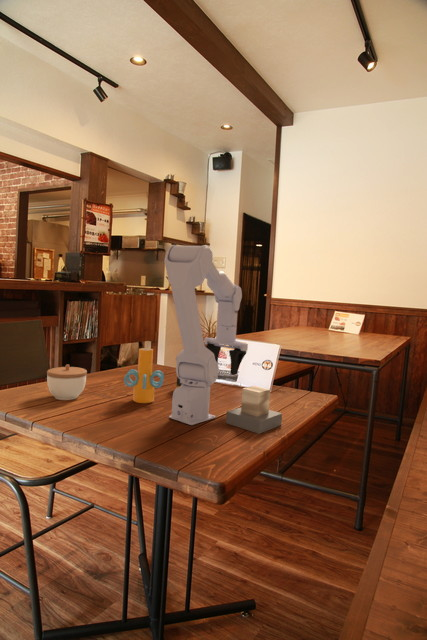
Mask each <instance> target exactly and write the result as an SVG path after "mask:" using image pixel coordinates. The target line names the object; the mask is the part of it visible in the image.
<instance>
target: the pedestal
mask: <svg viewBox="0 0 427 640" xmlns="http://www.w3.org/2000/svg"><path fill="white" fill-rule="evenodd" d="M225 418H226V419H225V424H227V425H231V426H234V427H237V428H240V429H244V430H246V431H249V432H253V433H256V434H259V435H260V434H262V433H264V432H268V431H269V430H273V429H275V428H277V427H280V426H282V420H283V419H282V418H283V413H282V412H279V411H274V410H271V409H269V413H267V414H264V415H261V416H258V417H257V416H253V415H250V414H246V413H243V412H241V407H237V408H233V409H231V410H227V411H226V417H225Z"/></svg>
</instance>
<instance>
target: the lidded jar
mask: <svg viewBox="0 0 427 640" xmlns="http://www.w3.org/2000/svg"><path fill="white" fill-rule="evenodd" d="M87 374H88V371H87V369H86V368H84V367H83V368H82V367H76V366H70V364H66V365H65V366H61V367H60V366H59V367H53V368H49V369H48V370H47V371H46V376H47V378H46V380H47V388H48V390H49V392H50V394H51V395H52V396H53V397H54V399H56V400H58V401H70V400H75V399H77V398H78V397H79V396H80V395H81V394H82V393H83V392H84V389H85V387H86V383H87V376H88V375H87Z"/></svg>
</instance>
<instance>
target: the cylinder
mask: <svg viewBox="0 0 427 640" xmlns="http://www.w3.org/2000/svg"><path fill="white" fill-rule="evenodd" d="M153 358H154V349H153V348H146V347H145V348H144V347H141V348H139V349H138V361H137V365H138V366H137V370H136V369H133V368H131V369H130V370H128V372H126V374H125V375H124V378H123V382H124V384H125V386H126V387H129V388H133V389H132V392H133V394H132V401H133V402H135V403H137V404H151V403H153V402H154V401H155V389H159V388H161V387H162V386H163V384H164V379H165V375H164V372H163V371H162V370H154V371H153V360H154V359H153ZM131 375H133V376H134V377H135V380H132V379H131ZM154 377H158V378H159V381H155V380H154Z"/></svg>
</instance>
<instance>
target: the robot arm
mask: <svg viewBox="0 0 427 640" xmlns="http://www.w3.org/2000/svg"><path fill="white" fill-rule="evenodd" d="M213 261H214V258H213V251H212V249H211V248H210V247H209V245H207V244H205V245H204V244H203V245H177V244H172V245H170V246H169V248H168V249H167V251H166V255H165V258H164V265H165V270H166V276H167V280H168V283H169V284H170V288H171V292H172V293H171V294H172V298H173V302H174V304H173V305H174V307H175V308H174V309H175V314H176V319H177V323H178V329H179V335H180V339H181V344H182V350H180V351H179V352H178V354H177V355H176V357H175V361H176V365H175V373H176V378H177V377H178V378H179V379H180V383H182V385H181V386H180V387H178V388H175V389H174V390H173V391H172V400H171V401H172V402H171V414H170V415H169V416H168V418H170V419H172V420H175V421H179V422H181V423H183V424H186V425H189V426H194V425H197V424H199V423H203V422H207V421H210V420H213V419H216V418H217V417H216V415H214V414H210V398H211V397H210V395H211V386H212V385H214V383H216V381H217V379H218V376H219V372H220V371H219V370H220V369H219V368H220V367H219V363H218V362H219V356H220V351H221V348H227V349H230V350H228V352H229V357H230V375H232V376H234V375H237V374H238V371H239V368H240V366H241V363H242V360H244V358H245V356H246V354H247V352H248V346H249V345H248V344H249V343H246V342H241V341H238V340H236V338H237V337H236V336H237V323H238V311H239V310H240V307H241V301H242V298H243V293H242V292H243V291H242V288H241V286H239V285H238V284H234V283H233V282H232V280H231V279H230V278H229V277H228V276H227V274H226V272H225V271H224V270H218V269H217V267H216V266H215V263H214V262H213ZM205 280H206V285H207V286H208V288H209V290H211V291H212V293H213V296H214V300H215V303H217V314H216V315H217V316H216V330H215V338H213V337H203V329H202V323H201V318H200V313H199V307H198V306H199V305H198V301H197V296H196V288H197V287H199V286H201V285H203V283H204V281H205Z"/></svg>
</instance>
